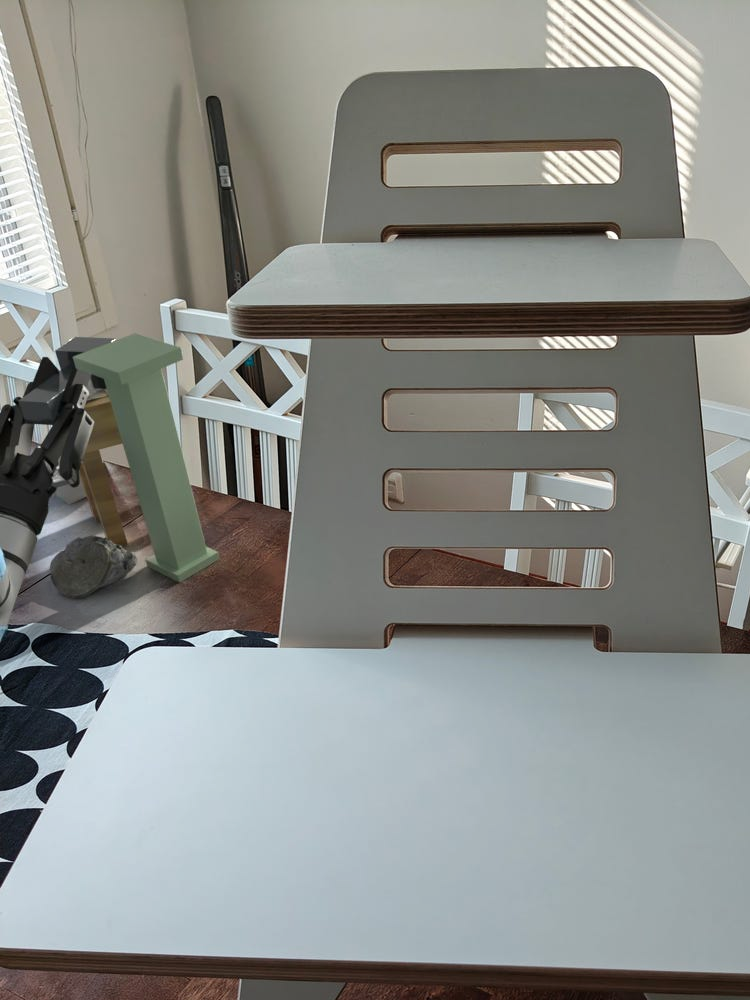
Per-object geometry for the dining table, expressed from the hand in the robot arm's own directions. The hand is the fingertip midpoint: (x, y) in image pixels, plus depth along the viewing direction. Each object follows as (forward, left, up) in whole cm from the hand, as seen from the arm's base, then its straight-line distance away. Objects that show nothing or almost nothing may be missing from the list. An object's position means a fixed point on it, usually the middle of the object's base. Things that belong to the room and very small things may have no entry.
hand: (67, 364), depth 125 cm
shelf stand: (+11, +6, -26) cm, 29 cm away
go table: (-4, +4, -26) cm, 27 cm away
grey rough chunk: (+8, -5, -26) cm, 28 cm away
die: (-17, -2, -26) cm, 32 cm away
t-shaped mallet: (0, 0, -4) cm, 4 cm away
